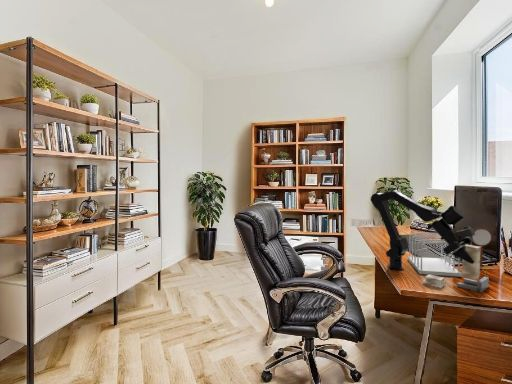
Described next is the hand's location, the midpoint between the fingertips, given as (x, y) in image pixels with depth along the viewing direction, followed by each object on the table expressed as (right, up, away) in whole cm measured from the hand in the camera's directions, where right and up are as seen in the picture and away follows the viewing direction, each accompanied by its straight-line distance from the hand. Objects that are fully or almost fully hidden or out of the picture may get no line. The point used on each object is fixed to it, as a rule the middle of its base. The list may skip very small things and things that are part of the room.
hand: (475, 262), depth 123 cm
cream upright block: (-1, -7, +1) cm, 7 cm away
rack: (-1, -10, +2) cm, 11 cm away
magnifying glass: (+20, -9, +23) cm, 32 cm away
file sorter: (-2, -9, +27) cm, 28 cm away
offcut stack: (-14, -11, +5) cm, 18 cm away
